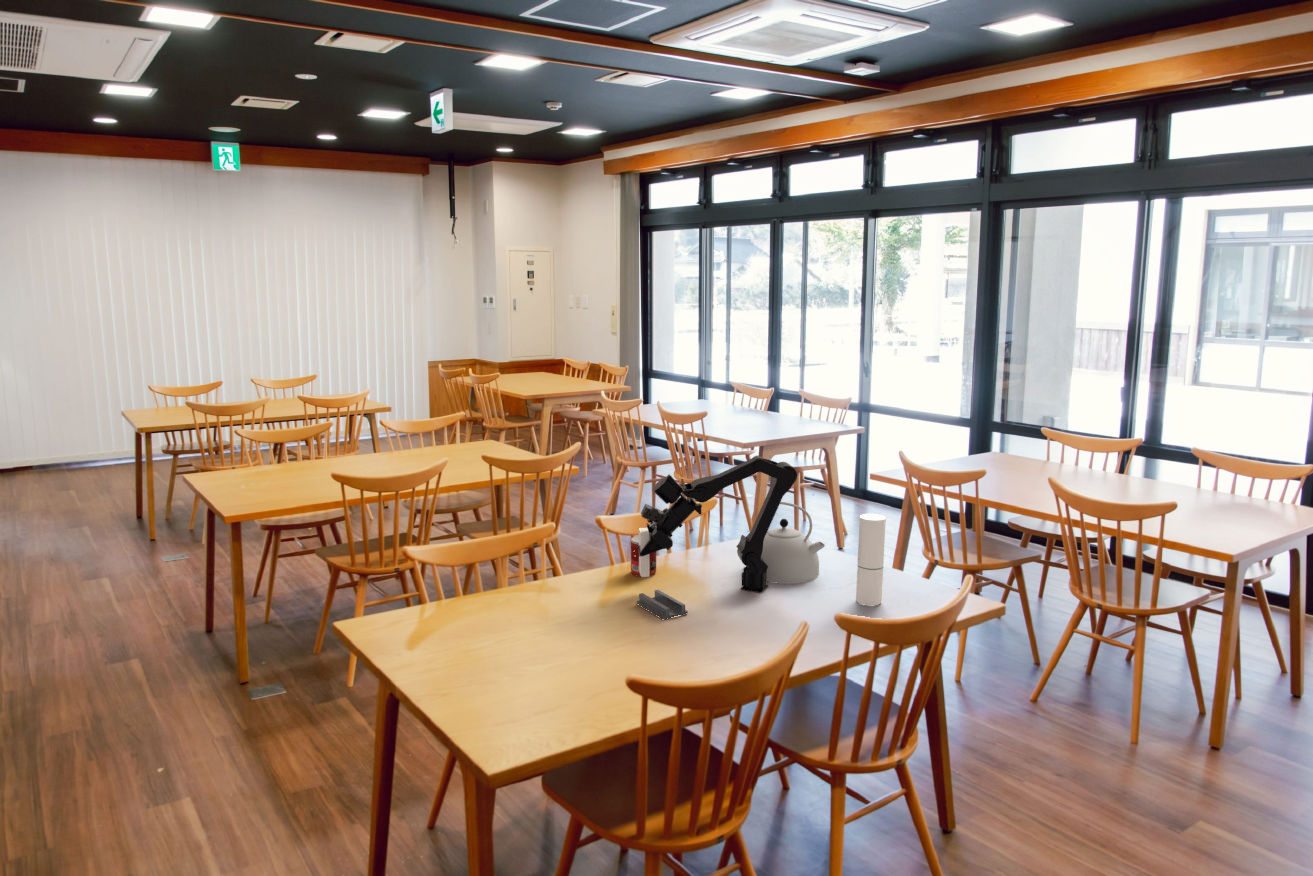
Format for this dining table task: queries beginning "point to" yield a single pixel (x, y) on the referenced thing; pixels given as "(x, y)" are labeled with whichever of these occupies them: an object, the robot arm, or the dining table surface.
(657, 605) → the bottom track
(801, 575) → the kettle
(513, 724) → the dining table surface
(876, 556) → the cylindrical container
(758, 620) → the dining table surface
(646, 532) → the door panel
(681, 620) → the dining table surface
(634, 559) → the canned food
